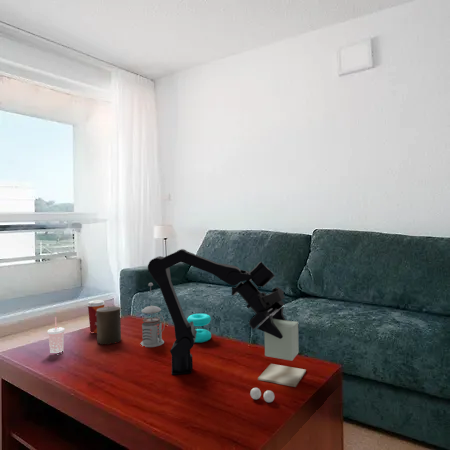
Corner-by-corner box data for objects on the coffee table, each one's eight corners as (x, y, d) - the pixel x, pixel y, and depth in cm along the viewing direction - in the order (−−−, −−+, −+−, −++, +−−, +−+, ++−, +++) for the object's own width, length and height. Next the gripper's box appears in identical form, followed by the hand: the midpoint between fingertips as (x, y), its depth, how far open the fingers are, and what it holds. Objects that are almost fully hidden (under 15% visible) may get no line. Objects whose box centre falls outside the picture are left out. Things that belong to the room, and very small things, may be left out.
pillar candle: (116, 344, 147) (116, 308, 147) (93, 345, 147) (92, 308, 147) (123, 337, 156) (123, 302, 156) (101, 337, 156) (101, 303, 156)
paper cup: (100, 334, 160) (99, 303, 160) (84, 334, 161) (83, 303, 161) (109, 329, 168) (108, 299, 167) (94, 328, 169) (93, 299, 169)
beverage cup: (60, 355, 136) (59, 318, 136) (44, 355, 136) (43, 319, 136) (68, 349, 142) (67, 314, 142) (53, 349, 142) (51, 314, 142)
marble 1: (251, 402, 98) (251, 391, 98) (249, 396, 101) (249, 386, 101) (262, 400, 99) (262, 390, 99) (259, 395, 102) (259, 385, 102)
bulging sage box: (264, 356, 113) (264, 324, 113) (272, 348, 119) (272, 318, 119) (292, 360, 109) (291, 328, 109) (298, 352, 115) (298, 321, 115)
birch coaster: (258, 379, 112) (257, 377, 112) (271, 365, 122) (271, 363, 122) (295, 387, 106) (295, 385, 106) (305, 371, 117) (305, 369, 117)
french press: (152, 337, 155) (151, 279, 154) (172, 342, 148) (170, 282, 147) (135, 344, 147) (133, 283, 146) (154, 349, 140) (152, 286, 139)
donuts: (210, 319, 145) (185, 319, 146) (210, 343, 146) (186, 343, 146) (211, 312, 155) (188, 312, 156) (212, 335, 156) (189, 335, 156)
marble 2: (265, 405, 97) (264, 394, 97) (262, 399, 100) (262, 388, 100) (275, 403, 97) (275, 393, 97) (272, 398, 100) (272, 387, 100)
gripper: (257, 285, 107) (294, 326, 102) (278, 276, 124) (310, 311, 119) (234, 309, 111) (268, 350, 106) (257, 297, 128) (288, 331, 123)
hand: (285, 334), depth 113 cm, fingers closed on bulging sage box, 7 cm apart
